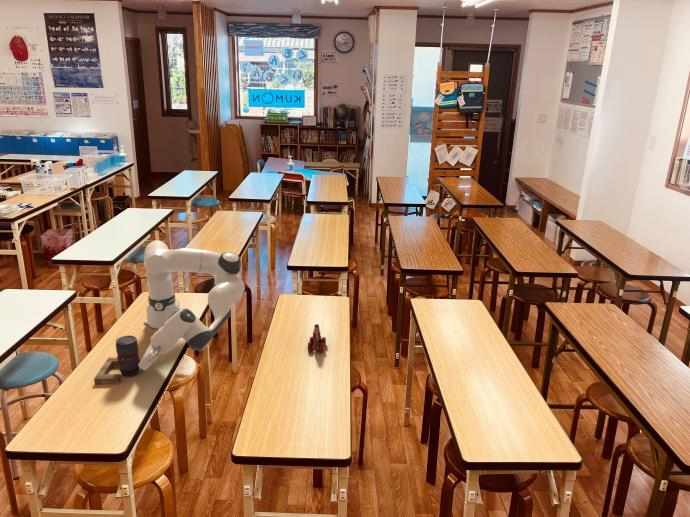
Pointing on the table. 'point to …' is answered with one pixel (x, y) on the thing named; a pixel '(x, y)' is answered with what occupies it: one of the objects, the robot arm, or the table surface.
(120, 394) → the table surface
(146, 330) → the table surface
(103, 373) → the lens cradle
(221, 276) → the robot arm
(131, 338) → the camera lens
